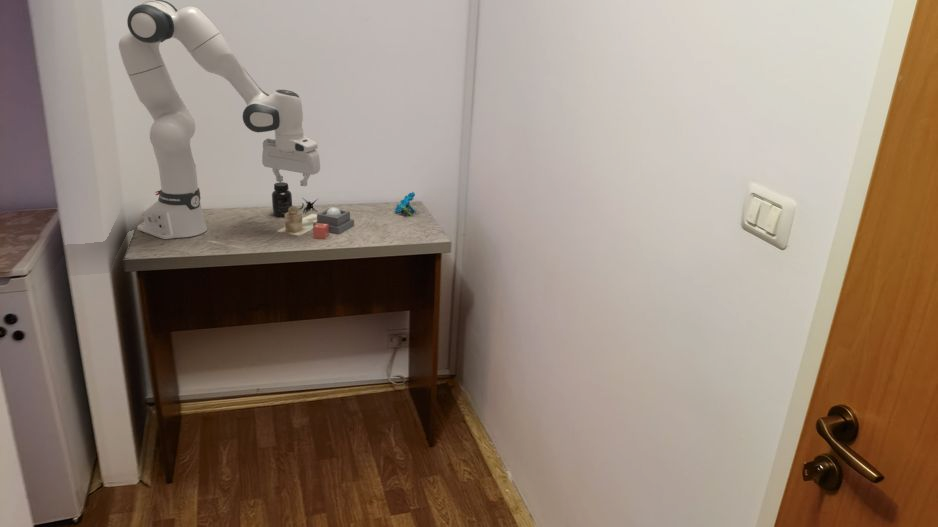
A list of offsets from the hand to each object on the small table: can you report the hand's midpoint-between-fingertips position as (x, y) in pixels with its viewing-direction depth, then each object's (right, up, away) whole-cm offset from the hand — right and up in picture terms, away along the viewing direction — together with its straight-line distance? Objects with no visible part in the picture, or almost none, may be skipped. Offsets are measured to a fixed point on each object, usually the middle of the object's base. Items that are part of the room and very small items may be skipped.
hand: (291, 183), depth 234 cm
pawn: (-1, -15, +6) cm, 16 cm away
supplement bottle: (-8, -10, +21) cm, 25 cm away
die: (+9, -17, +2) cm, 20 cm away
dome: (+12, -12, +10) cm, 19 cm away
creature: (-1, -8, +26) cm, 27 cm away
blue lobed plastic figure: (+34, -7, +32) cm, 47 cm away
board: (+6, -14, +11) cm, 19 cm away
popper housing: (+12, -15, +11) cm, 22 cm away
